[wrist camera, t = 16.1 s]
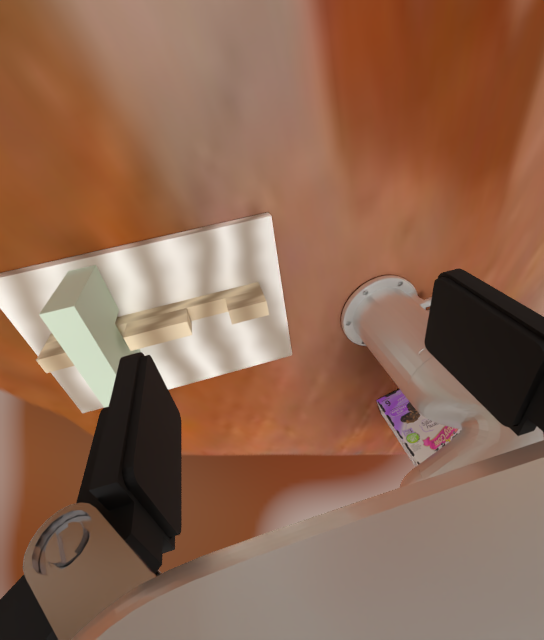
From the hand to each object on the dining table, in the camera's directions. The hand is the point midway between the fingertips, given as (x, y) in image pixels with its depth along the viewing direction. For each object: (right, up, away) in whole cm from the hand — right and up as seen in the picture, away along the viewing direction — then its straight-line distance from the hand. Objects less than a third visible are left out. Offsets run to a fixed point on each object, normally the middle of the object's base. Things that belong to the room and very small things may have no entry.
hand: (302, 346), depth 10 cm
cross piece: (-21, 0, +30) cm, 36 cm away
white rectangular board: (-15, +1, +33) cm, 36 cm away
